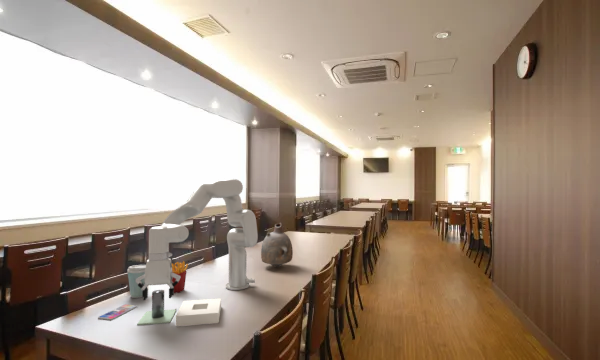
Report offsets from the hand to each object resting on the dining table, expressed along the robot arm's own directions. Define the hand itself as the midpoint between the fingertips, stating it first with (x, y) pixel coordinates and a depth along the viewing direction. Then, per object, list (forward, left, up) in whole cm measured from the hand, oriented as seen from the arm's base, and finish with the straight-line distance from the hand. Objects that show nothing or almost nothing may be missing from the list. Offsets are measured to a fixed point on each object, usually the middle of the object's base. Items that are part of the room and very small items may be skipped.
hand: (158, 298), depth 124 cm
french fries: (-1, -34, -8) cm, 35 cm away
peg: (0, 0, -7) cm, 7 cm away
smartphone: (+18, -9, -9) cm, 22 cm away
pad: (0, 0, -8) cm, 8 cm away
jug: (-58, -70, -8) cm, 91 cm away
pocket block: (-17, +2, -8) cm, 19 cm away
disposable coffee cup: (+16, -29, -8) cm, 34 cm away
